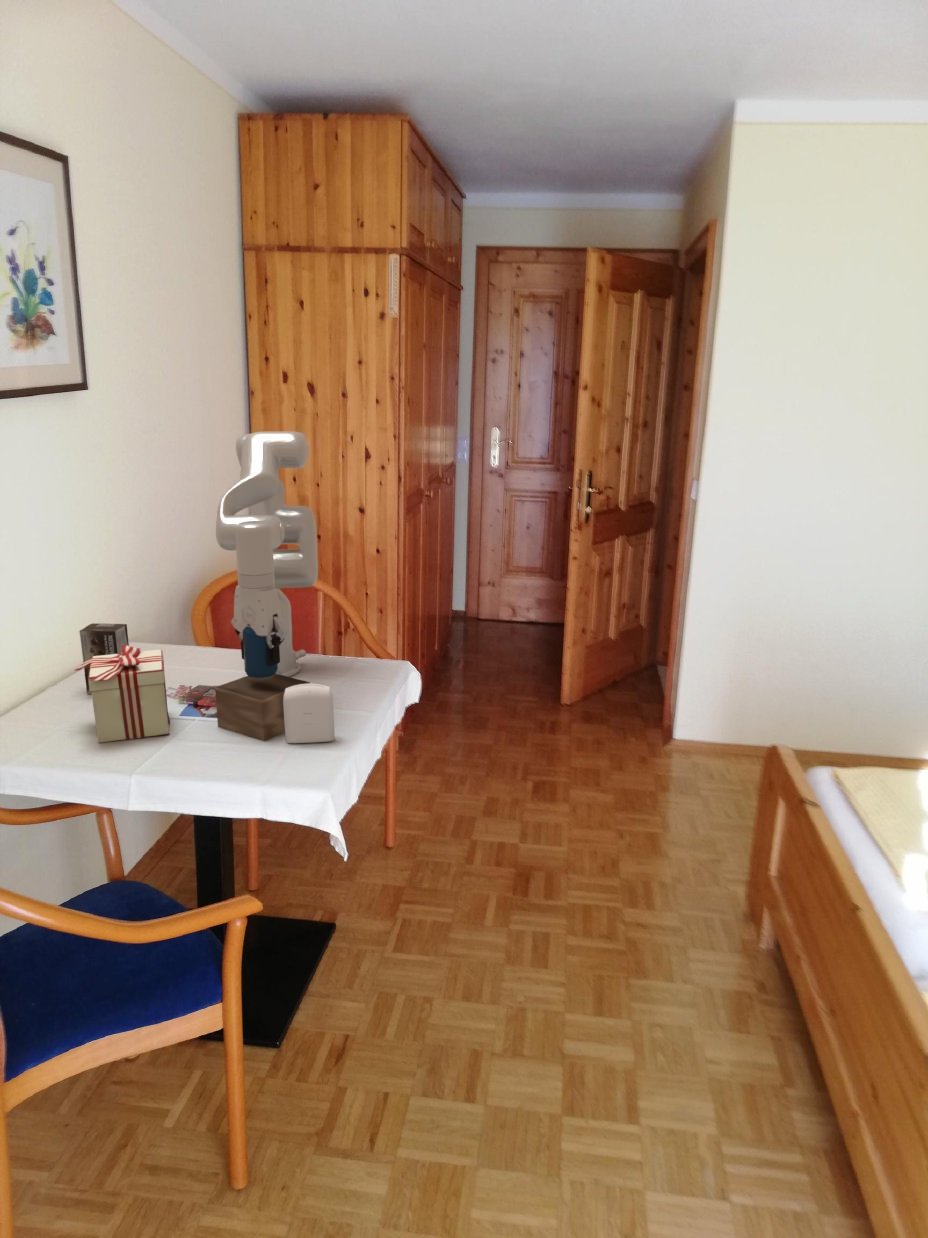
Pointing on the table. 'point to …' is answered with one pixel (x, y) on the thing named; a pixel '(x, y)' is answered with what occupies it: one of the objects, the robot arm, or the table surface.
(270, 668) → the soda can
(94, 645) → the coffee box
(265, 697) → the walnut box
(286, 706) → the photo printer
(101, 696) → the gift box
